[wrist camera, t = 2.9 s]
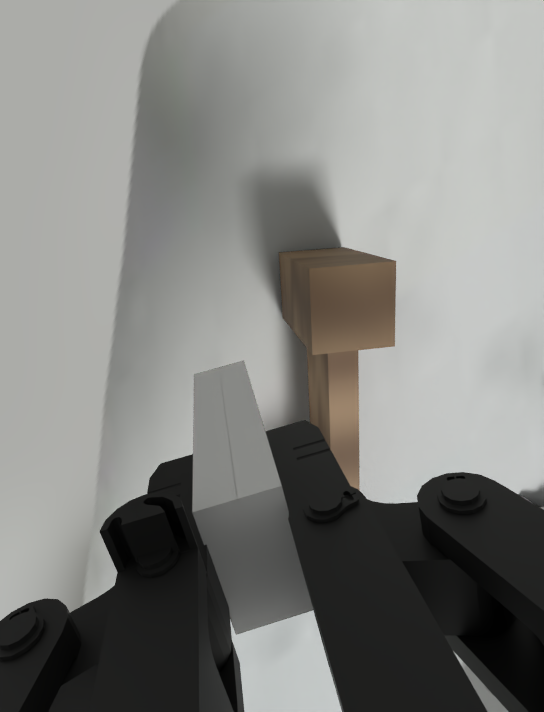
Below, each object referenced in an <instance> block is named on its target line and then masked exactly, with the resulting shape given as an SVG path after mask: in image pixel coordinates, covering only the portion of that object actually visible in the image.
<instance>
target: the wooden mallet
mask: <svg viewBox="0 0 544 712" xmlns="http://www.w3.org/2000/svg"><path fill="white" fill-rule="evenodd" d="M279 263H280V280H281V298H282V315H283V319H284V320H285V321H286V323H287V324H288V325H289V326H290V328H291V329H292V330H293V331H294V333H295V334H296V335H297V336H298V338H299V339H300V340H301V341H302V343H303V344H304V345H305V346H306V348H307V362H308V385H309V408H310V423H311V424H313V425H315V426H317V427H319V429H320V431H321V433H322V435H323V436H324V438H325V441H326V442H327V444H328V446H329V447H330V450H331V451H332V453H333V455H334V457H335V458H336V460H337V462H338V464H339V466H340V468H341V469H342V471H343V473H344V475H345V477H346V479H347V480H348V482H349V484H350V486H351V487H354V488H356V489H358V490H359V387H358V350H364V349H373V348H383V347H392V346H395V291H396V261H394V260H390V259H386V258H382V257H378V256H375V255H371V254H367V253H363V252H360V251H356V250H352V249H348V248H344V247H341V248H329V249H316V250H304V251H291V252H279Z"/></svg>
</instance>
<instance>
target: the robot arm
mask: <svg viewBox="0 0 544 712" xmlns="http://www.w3.org/2000/svg"><path fill="white" fill-rule="evenodd" d="M147 493H148V494H146V495H143V496H141V497H138V498H136V499H133V500H131V501H129V502H128V503H126V504H124V505H123V506H121V507H120V508H118V509H117V510H116V511H115V512H114V513H113V514H111V515H110V516H109V517H108V518H107V519H106V520H105V522H104V524H103V526H102V528H101V530H100V534H101V536H102V538H103V540H104V543H105V545H106V547H107V549H108V552H109V554H110V556H111V558H112V561H113V563H114V565H115V567H116V570H117V572H118V573H117V578H116V583H115V586H113V587H112V588H111V589H110V590H108V591H107V592H105V593H104V594H102V595H101V596H99V597H98V598H96V599H94V600H92V601H90V602H89V603H87V604H85V605H83V606H81V607H80V608H78V609H76V610H74V611H72V612H71V613H69V611H68V609H67V607H66V605H64V604H63V603H62V602H61V601H59V600H58V599H42V600H38V601H35V602H31V603H28V604H26V605H25V606H22V607H21V608H18V609H17V610H15V611H13V612H11V613H10V614H9V615H7V616H6V617H5V618H4V619H2V620H1V621H0V712H244V704H243V694H242V684H241V673H240V663H239V660H238V657H237V654H236V651H235V648H234V645H233V642H232V638H231V626H230V619H231V622H232V625H233V628H234V631H235V633H236V634H240V633H243V632H246V631H249V630H252V629H255V628H258V627H262V626H265V625H268V624H271V623H274V622H277V621H280V620H284V619H287V618H290V617H293V616H296V615H299V614H302V613H306V612H309V611H312V610H314V613H315V617H316V621H317V624H318V628H319V631H320V635H321V639H322V642H323V646H324V650H325V653H326V657H327V661H328V664H329V667H330V670H331V674H332V677H333V681H334V684H335V688H336V691H337V695H338V698H339V702H340V705H341V709H342V712H488V711H487V710H486V708H485V706H484V704H483V703H482V701H481V699H480V697H479V696H478V694H477V692H476V690H475V689H474V687H473V685H472V683H471V682H470V680H469V678H468V676H467V675H466V673H465V671H464V669H463V668H462V666H461V664H460V662H459V661H458V659H457V657H456V655H455V653H456V654H457V655H458V656H459V658H460V659H461V660H462V661H463V662H464V663H465V664H466V665H467V666H468V667H469V669H470V670H471V671H472V672H473V673H474V674H475V675H476V676H477V677H478V679H479V680H480V681H481V682H482V683H483V684H484V685H485V686H486V687H487V688H488V690H489V691H490V692H491V693H492V694H493V695H494V696H495V697H496V698H497V699H498V701H499V702H500V703H501V704H502V705H503V706H504V707H505V708H506V709H507V710H508V712H544V510H543V509H542V508H540V507H538V506H537V505H535V504H533V503H531V502H530V501H528V500H526V499H525V498H523V497H521V496H520V495H518V494H516V493H514V492H513V491H511V490H509V489H508V488H506V487H504V486H503V485H501V484H499V483H497V482H496V481H494V480H491V479H489V478H487V477H484V476H482V475H478V474H472V473H465V472H460V473H447V474H444V475H441V476H438V477H435V478H432V479H431V480H429V481H428V482H427V483H425V484H424V485H423V486H422V487H421V489H420V491H419V493H418V495H417V499H418V502H413V503H398V504H387V503H379V502H373V501H370V500H368V499H366V497H365V496H364V495H363V494H362V493H361V492H360V491H359V490H358V489H356V488H354V487H351V486H350V484H349V482H348V480H347V479H346V477H345V475H344V473H343V471H342V469H341V468H340V466H339V464H338V462H337V460H336V458H335V457H334V455H333V453H332V451H331V450H330V447H329V446H328V444H327V442H326V441H325V438H324V436H323V435H322V433H321V431H320V429H319V427H317V426H315V425H313V424H311V423H309V422H307V421H306V420H304V421H300V422H297V423H293V424H290V425H287V426H283V427H280V428H276V429H273V430H269V431H266V432H265V429H264V426H263V422H262V419H261V416H260V412H259V409H258V406H257V403H256V399H255V396H254V393H253V389H252V386H251V383H250V379H249V376H248V373H247V369H246V366H245V363H244V361H240V362H237V363H233V364H229V365H226V366H222V367H219V368H215V369H211V370H208V371H204V372H201V373H197V374H194V420H193V454H192V455H189V456H185V457H182V458H178V459H175V460H172V461H168V462H165V463H161V464H160V465H159V466H158V468H157V469H156V471H155V472H154V473H153V475H152V476H151V477H150V480H149V486H148V492H147ZM453 651H454V652H455V653H454V652H453Z"/></svg>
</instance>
